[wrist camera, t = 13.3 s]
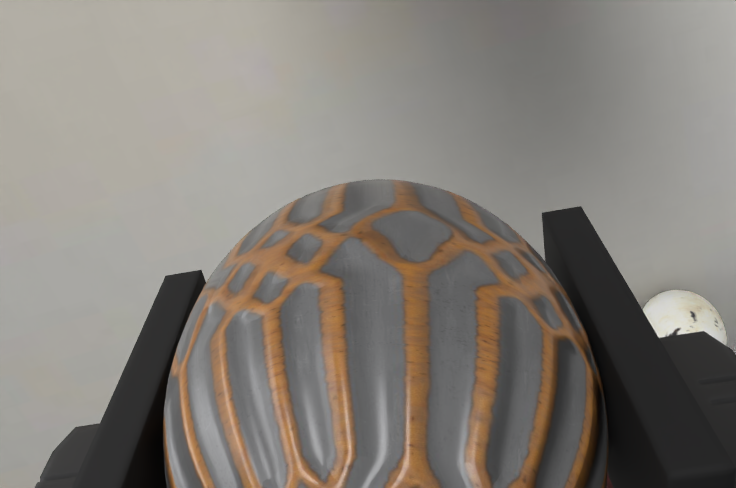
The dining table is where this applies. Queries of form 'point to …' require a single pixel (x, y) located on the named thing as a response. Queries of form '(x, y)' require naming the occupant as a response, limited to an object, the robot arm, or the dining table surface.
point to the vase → (384, 355)
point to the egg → (683, 315)
